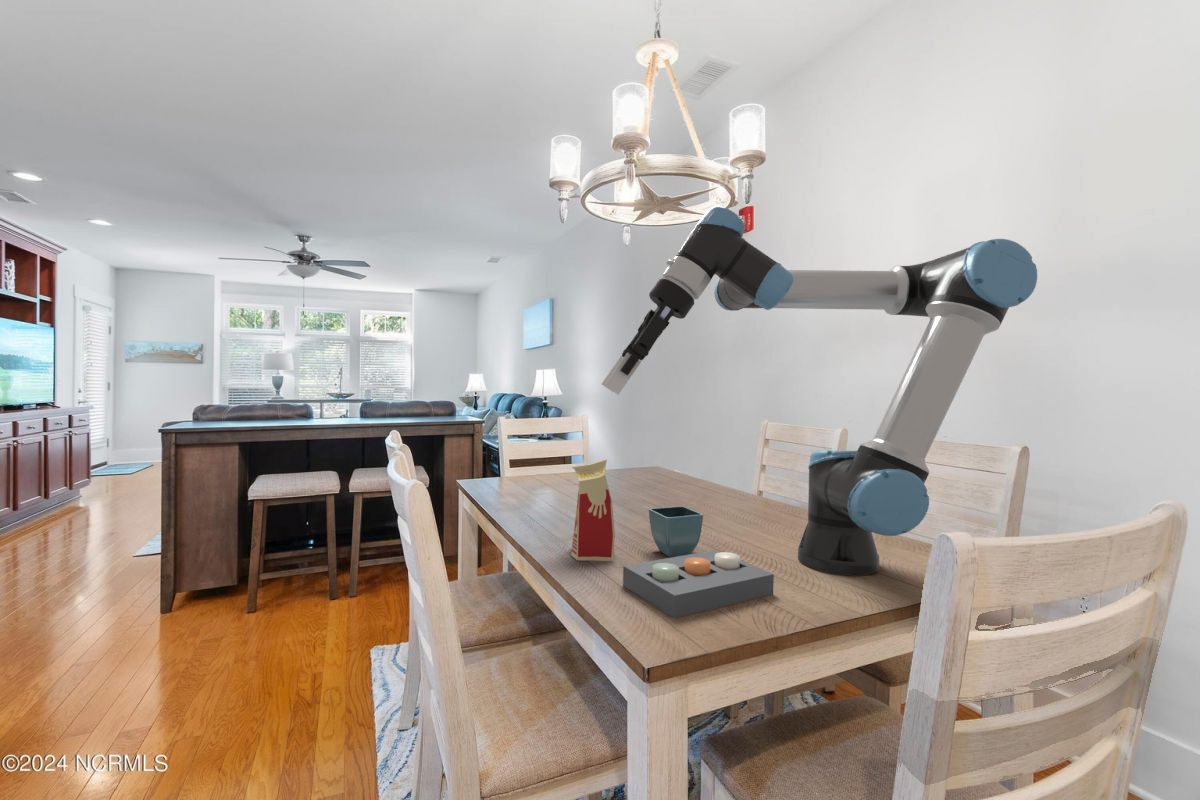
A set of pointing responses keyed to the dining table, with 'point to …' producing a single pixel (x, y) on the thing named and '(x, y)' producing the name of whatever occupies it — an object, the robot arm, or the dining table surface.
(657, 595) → the button panel
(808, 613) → the dining table surface
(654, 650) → the dining table surface
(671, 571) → the sage button
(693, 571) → the orange button
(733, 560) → the cream button
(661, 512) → the flower pot
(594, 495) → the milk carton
